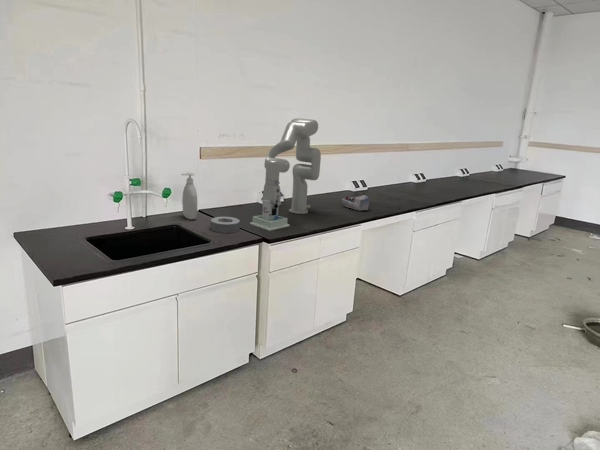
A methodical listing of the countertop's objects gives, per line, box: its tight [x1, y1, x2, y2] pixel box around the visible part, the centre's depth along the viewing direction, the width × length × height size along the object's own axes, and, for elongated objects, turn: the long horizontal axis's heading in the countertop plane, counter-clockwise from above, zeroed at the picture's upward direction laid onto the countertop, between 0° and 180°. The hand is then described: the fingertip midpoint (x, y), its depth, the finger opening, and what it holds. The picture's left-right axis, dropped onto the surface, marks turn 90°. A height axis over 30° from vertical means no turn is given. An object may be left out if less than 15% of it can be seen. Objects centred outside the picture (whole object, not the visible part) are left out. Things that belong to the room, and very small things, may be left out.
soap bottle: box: [181, 170, 198, 221], centre depth 233 cm, size 14×8×27 cm, turn 41°
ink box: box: [261, 200, 279, 221], centre depth 231 cm, size 9×5×12 cm, turn 141°
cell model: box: [341, 194, 370, 212], centre depth 291 cm, size 13×11×20 cm
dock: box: [249, 214, 291, 232], centre depth 233 cm, size 16×16×4 cm
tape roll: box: [210, 216, 241, 234], centre depth 220 cm, size 15×15×5 cm
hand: (270, 213), depth 232 cm, fingers closed on ink box, 5 cm apart
